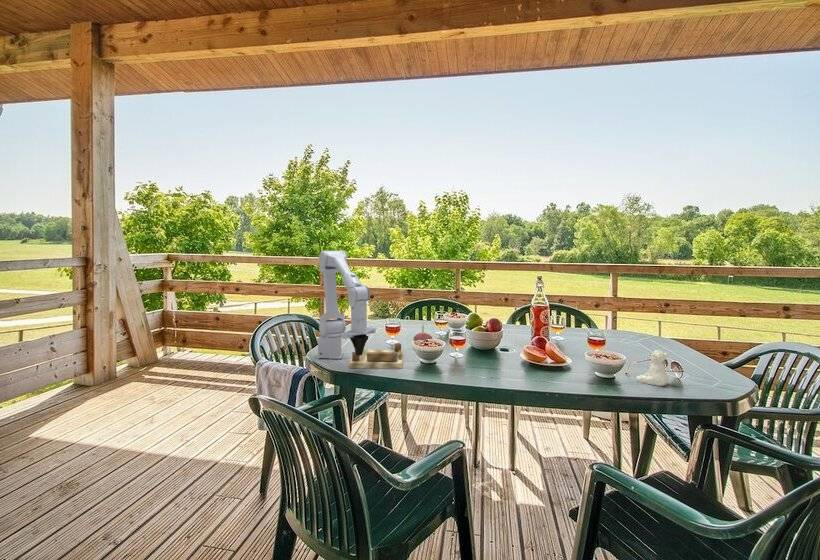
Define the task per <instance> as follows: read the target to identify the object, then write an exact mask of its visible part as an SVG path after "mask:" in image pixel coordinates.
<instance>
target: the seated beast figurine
mask: <svg viewBox="0 0 820 560" xmlns="http://www.w3.org/2000/svg"><path fill="white" fill-rule="evenodd" d="M653 351H654V352H653V353H652V354H651V356H650V358H649V359H650V360H651V361H650V362H651V364H650V365H649V367H648V368H649V370H648V373H647V374H644V375H643V374H640V375H637V376H636V378H635V379H636V382H637V383H641V384H647V385H651V386H656V387H664V386H666V385H668V383H669V376H668V373H667V371H666V366H665V364H664V362H665V360H666V357H668V356H669V353H668V352H664V351H662V350H661V349H655V350H653Z"/></svg>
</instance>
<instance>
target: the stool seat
mask: <svg viewBox="0 0 820 560" xmlns="http://www.w3.org/2000/svg"><path fill="white" fill-rule="evenodd" d="M367 352H397V353H398V360H397V361H367ZM403 353H404V352H403V349H402V343H399V342H398V343H396V342H395V343H394V348H393V349H364V350H363V354H362V355H361V356H358V355H356V352H355V351H353V352H351V358H350V361H349V365H348V366H349V367H348V368H349V369H397V370H398V369H400V368H402V369H403V357H404V356H403Z"/></svg>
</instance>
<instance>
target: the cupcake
mask: <svg viewBox="0 0 820 560" xmlns="http://www.w3.org/2000/svg"><path fill="white" fill-rule="evenodd" d="M424 327H425V326H424V324H422V325H421V328H422V329H421V332H419V333H417V334H415V335H414V336H413V339H412V340H413V341H414V342H415V341H417V340H426V339H432V340H433V336H432V335H431V334H428V333H425V332H424V329H425V328H424Z"/></svg>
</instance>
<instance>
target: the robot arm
mask: <svg viewBox="0 0 820 560" xmlns="http://www.w3.org/2000/svg"><path fill="white" fill-rule="evenodd" d="M347 259H348V257H347V253H346V252H345V250H343V249H342V250H321V252H320V253H319V256H318V265H319V267H318V268H319V271H320V272H321V273H322V275H323V276H322V278H323V289H324V291H323V292H324V302H325V303H324V304H325V312H324V313H323V314H322V315H321V316H320V317H319V325H318V330H319V334H320V335H319V336H318V339H317V359H319V358H329V359H328V360H336V359H337V360H340V359H342V357H343V356H344V352H342V340H347V339H350V341H351V343H352V345H353V348H354V352H356V355H358V356H361V355H362V354H363V350H365V345H366V344H367V341H368V340H369V335H370V334H377V333H376V327H368V325H367V323H368V321H367V320H368V317H367V316H368V313H367V312H368V308H367V307H368V305H367V304H368V301H369V300H370V295H371V294H370V293H371V292H370V288H369V287H368V286H367V285H364V284H362V282H361V281H360V279H359V277H358V276H357V274H356V273H355V272H352V271H351V269H350V267H349V265H348V263H347V262H348V260H347ZM337 272H338V273H339V274H340V276H342V279H341V281H342V283H343V286H344V287H345V288H346V290H347V292H348V293H347V298H348V301H349V307H350V312H351V313H350V320H351V321H350V324H351V325H350V330H348V331H346V329H347V324H346V321H345V316H344V315H343V314H342V313H340V311H339V307H338V305H339V303H338V292H337V279H336V274H337Z"/></svg>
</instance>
